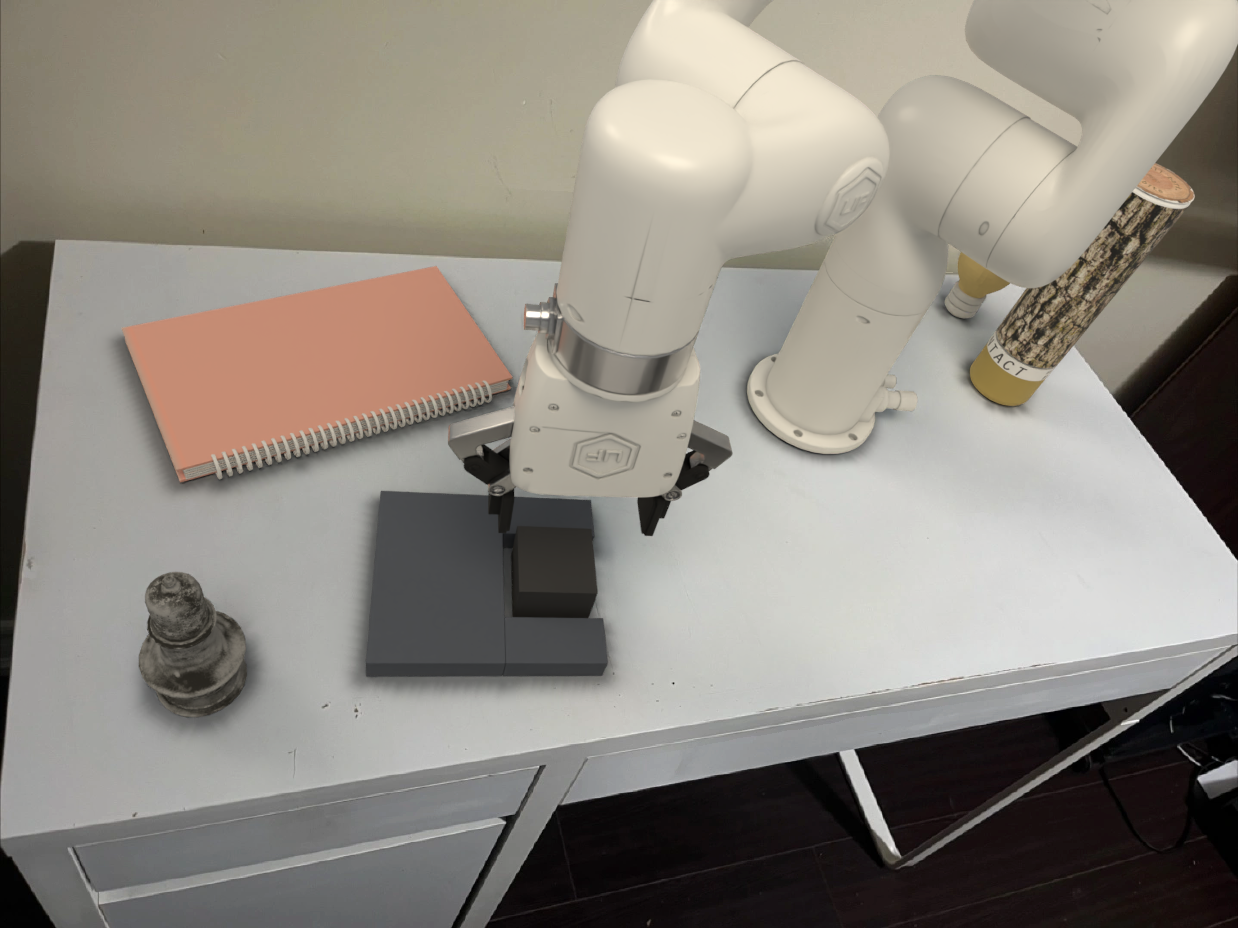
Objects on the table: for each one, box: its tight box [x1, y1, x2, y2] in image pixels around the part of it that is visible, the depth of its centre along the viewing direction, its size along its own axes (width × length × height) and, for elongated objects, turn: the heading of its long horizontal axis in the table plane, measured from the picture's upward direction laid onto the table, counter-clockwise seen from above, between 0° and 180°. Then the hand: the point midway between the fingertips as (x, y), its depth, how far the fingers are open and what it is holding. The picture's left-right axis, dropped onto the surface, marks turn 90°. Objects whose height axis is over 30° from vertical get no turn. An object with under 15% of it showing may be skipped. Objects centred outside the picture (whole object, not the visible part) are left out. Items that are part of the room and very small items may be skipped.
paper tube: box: [969, 162, 1196, 407], centre depth 82 cm, size 7×7×25 cm
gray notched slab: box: [365, 490, 609, 678], centre depth 62 cm, size 16×14×2 cm
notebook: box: [120, 265, 514, 483], centre depth 72 cm, size 27×17×2 cm, turn 122°
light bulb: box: [944, 251, 1011, 319], centre depth 95 cm, size 6×6×10 cm
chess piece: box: [138, 571, 248, 718], centre depth 50 cm, size 6×6×12 cm
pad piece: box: [510, 526, 599, 618], centre depth 63 cm, size 6×6×4 cm
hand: (574, 516), depth 58 cm, fingers open, 9 cm apart
